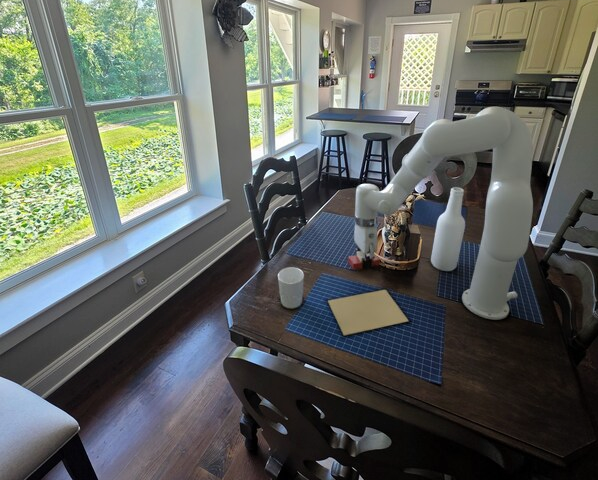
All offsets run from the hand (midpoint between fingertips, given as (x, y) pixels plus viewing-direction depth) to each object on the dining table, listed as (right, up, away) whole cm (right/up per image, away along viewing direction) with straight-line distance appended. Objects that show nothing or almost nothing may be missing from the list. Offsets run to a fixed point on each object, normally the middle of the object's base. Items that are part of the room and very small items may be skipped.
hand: (363, 263), depth 117 cm
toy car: (0, -1, 0) cm, 1 cm away
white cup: (-26, -9, -15) cm, 31 cm away
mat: (-3, -10, -20) cm, 22 cm away
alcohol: (+29, -1, +1) cm, 30 cm away
